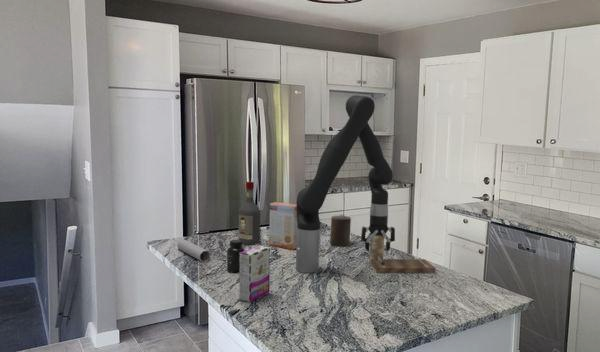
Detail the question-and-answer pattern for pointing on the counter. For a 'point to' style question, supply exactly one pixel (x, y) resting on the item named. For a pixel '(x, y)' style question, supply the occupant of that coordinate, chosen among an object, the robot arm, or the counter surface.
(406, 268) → the walnut board
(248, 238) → the liquor
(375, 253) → the marking gauge
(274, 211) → the cracker box
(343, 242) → the pillar candle
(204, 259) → the tube
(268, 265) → the candy bar box
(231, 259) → the supplement bottle
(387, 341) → the counter surface
